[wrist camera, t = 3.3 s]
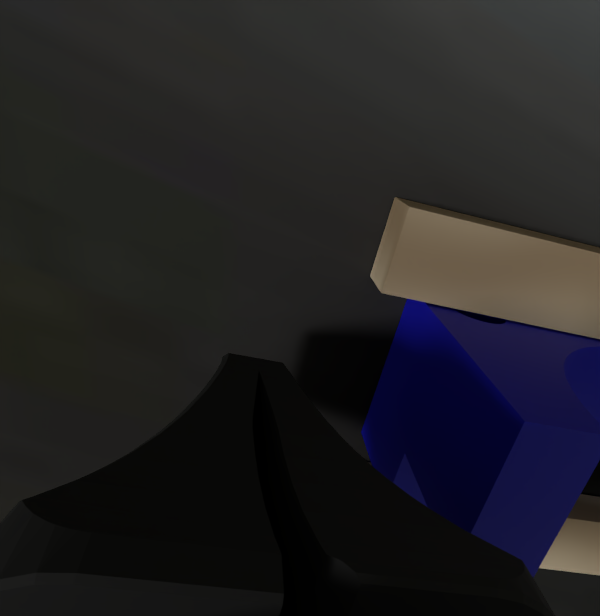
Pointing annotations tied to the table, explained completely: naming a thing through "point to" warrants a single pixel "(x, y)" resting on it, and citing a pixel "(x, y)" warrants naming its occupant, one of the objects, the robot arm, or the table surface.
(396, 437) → the blue stepped block
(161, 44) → the table surface
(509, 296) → the channel
